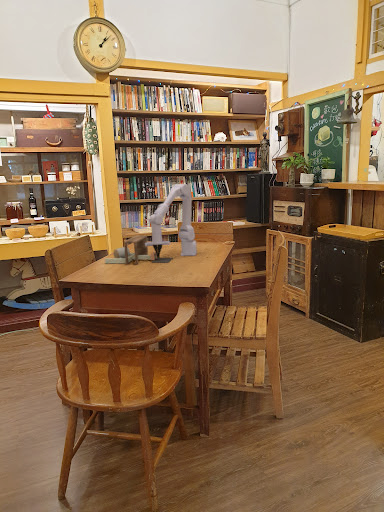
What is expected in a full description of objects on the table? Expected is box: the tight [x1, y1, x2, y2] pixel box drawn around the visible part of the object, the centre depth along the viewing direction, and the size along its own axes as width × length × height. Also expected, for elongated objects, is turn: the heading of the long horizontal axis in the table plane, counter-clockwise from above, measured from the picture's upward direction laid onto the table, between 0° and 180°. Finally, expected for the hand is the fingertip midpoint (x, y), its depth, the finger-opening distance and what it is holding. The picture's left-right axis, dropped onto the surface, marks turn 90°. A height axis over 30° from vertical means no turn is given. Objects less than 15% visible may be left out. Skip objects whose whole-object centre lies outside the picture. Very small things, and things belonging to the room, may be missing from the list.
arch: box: [123, 234, 149, 266], centre depth 219 cm, size 7×22×14 cm, turn 170°
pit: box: [151, 257, 174, 264], centre depth 217 cm, size 10×12×1 cm
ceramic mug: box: [113, 246, 131, 258], centre depth 222 cm, size 11×8×8 cm
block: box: [104, 251, 157, 264], centre depth 220 cm, size 28×17×4 cm, turn 80°
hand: (158, 257), depth 217 cm, fingers closed
